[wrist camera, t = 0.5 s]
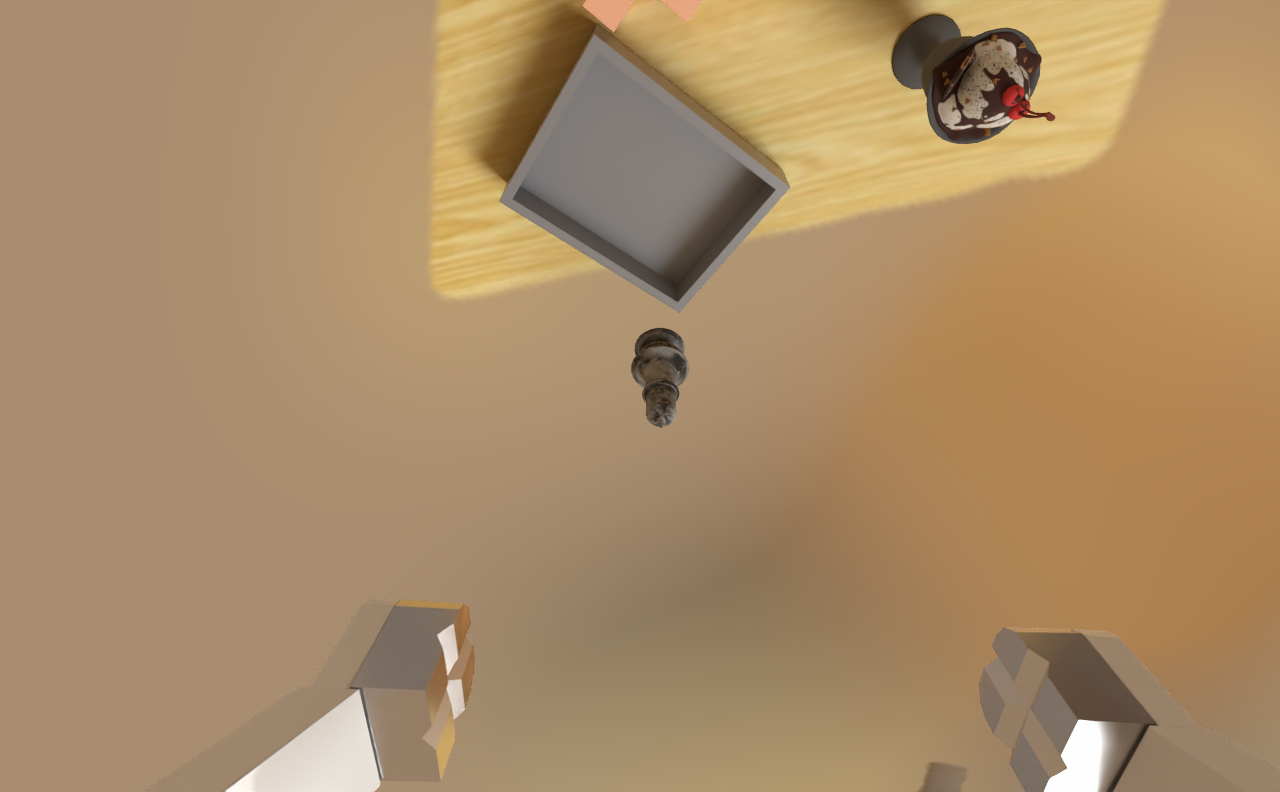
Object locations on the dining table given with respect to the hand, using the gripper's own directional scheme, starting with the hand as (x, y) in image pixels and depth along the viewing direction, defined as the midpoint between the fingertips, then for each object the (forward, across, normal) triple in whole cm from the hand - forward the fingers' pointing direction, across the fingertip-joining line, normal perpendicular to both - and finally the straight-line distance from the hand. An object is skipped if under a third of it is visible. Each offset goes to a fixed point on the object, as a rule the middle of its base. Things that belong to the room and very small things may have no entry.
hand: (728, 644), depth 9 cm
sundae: (+46, -18, -13) cm, 51 cm away
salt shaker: (+54, 0, +14) cm, 55 cm away
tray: (+48, +3, -3) cm, 48 cm away
